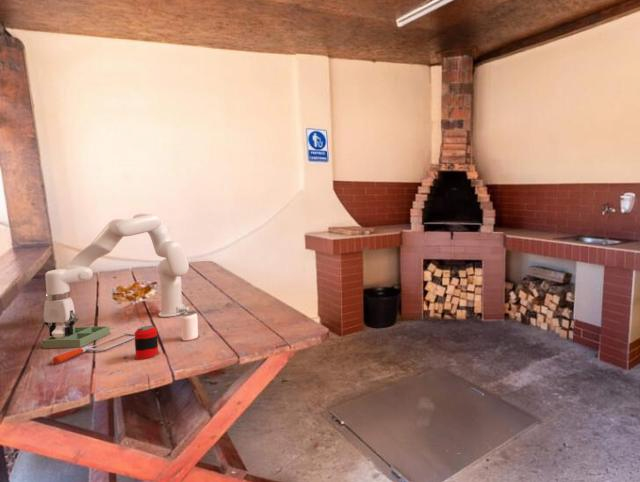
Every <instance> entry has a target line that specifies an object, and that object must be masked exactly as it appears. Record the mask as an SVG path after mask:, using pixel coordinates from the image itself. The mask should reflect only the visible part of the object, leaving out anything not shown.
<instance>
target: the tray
mask: <svg viewBox="0 0 640 482" xmlns="http://www.w3.org/2000/svg"><path fill="white" fill-rule="evenodd" d="M110 329H111V328H110V325H105V326H103V325H102V326H101V325H100V326H73V334H71V335H69V336H68V337H66V338H64V339H61V340H57V339H56V338H55V337H54V336H49V337H47V338H45V339H42V340H41V345H42V349H62V348H63V349H65V348H67V349H68V348H83V347H85V346H87V345H89V344H90V343H92V342H94V341H97V340H99V339H101V338H103V337H106V336H107V335H109V334H110V333H111V331H110Z"/></svg>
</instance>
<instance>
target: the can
mask: <svg viewBox="0 0 640 482" xmlns="http://www.w3.org/2000/svg"><path fill="white" fill-rule="evenodd" d="M198 320H199V319H198V314H197V311H195V310H194V311H193V310H192V311H186V312H185V313H183V314H181V317H180V324H181V325H180V327H181V340H182V341H184V342H187V341H188V342H189V341H193V340H195V339H198V337H199V321H198Z"/></svg>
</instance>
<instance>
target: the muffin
mask: <svg viewBox="0 0 640 482" xmlns="http://www.w3.org/2000/svg"><path fill="white" fill-rule="evenodd" d="M55 326H56V329H55V330H54V331H53V332H52V335H53V336H54V337H55V338H56V339H57V340H61V339H64V338H66V337H68V336H65V328H66V325H65V323H60V324H58V325H57V324H56V325H55Z"/></svg>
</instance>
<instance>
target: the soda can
mask: <svg viewBox="0 0 640 482" xmlns="http://www.w3.org/2000/svg"><path fill="white" fill-rule="evenodd" d="M134 333H135V338H134V348H135V350H134V351H135V358H136V360H147V359H151V358H154V357H155V356H157V355H158V354H159V343H158V341H159V340H158V328H157V327H156V326H154V325H144V326H141V327H139V328H137V330H135V332H134Z"/></svg>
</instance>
